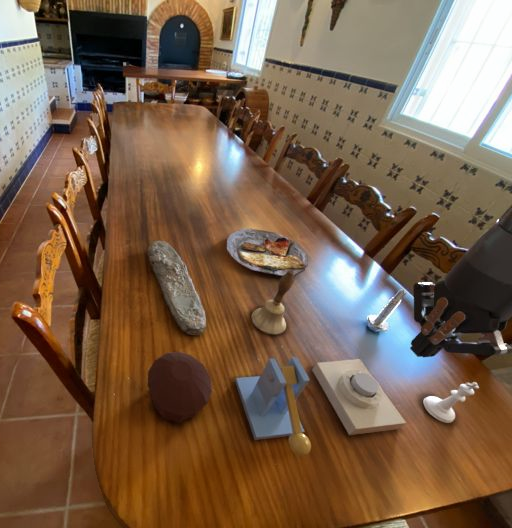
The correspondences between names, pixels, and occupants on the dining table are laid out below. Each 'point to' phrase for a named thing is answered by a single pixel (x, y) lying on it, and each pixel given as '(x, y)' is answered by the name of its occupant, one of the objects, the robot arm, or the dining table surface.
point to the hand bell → (274, 309)
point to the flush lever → (294, 415)
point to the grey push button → (364, 384)
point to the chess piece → (448, 402)
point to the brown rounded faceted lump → (178, 386)
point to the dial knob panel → (356, 399)
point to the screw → (384, 313)
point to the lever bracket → (270, 399)
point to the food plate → (266, 252)
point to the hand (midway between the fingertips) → (418, 352)
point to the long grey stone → (177, 288)
